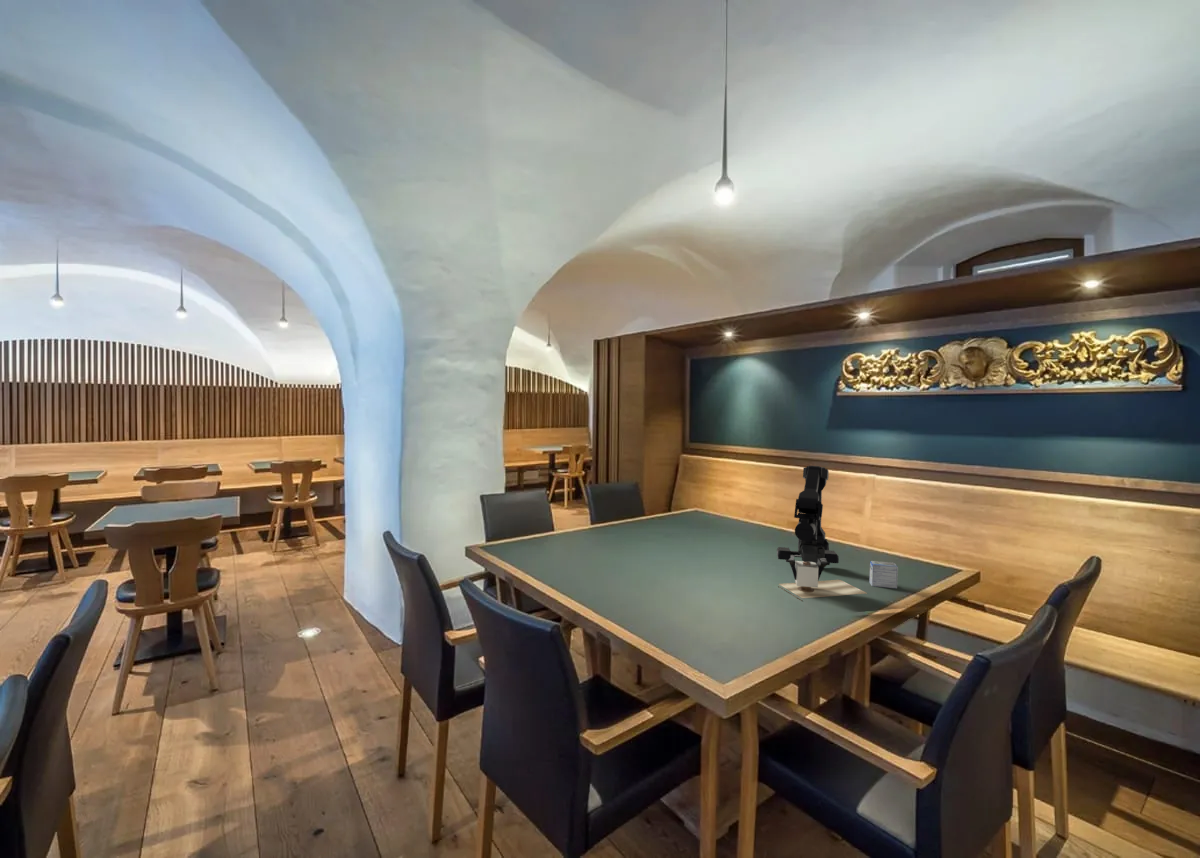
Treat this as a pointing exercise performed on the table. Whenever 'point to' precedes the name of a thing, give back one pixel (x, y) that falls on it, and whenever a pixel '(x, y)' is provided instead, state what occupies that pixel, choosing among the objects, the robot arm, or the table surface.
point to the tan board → (822, 589)
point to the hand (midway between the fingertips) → (806, 580)
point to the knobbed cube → (806, 574)
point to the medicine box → (883, 574)
